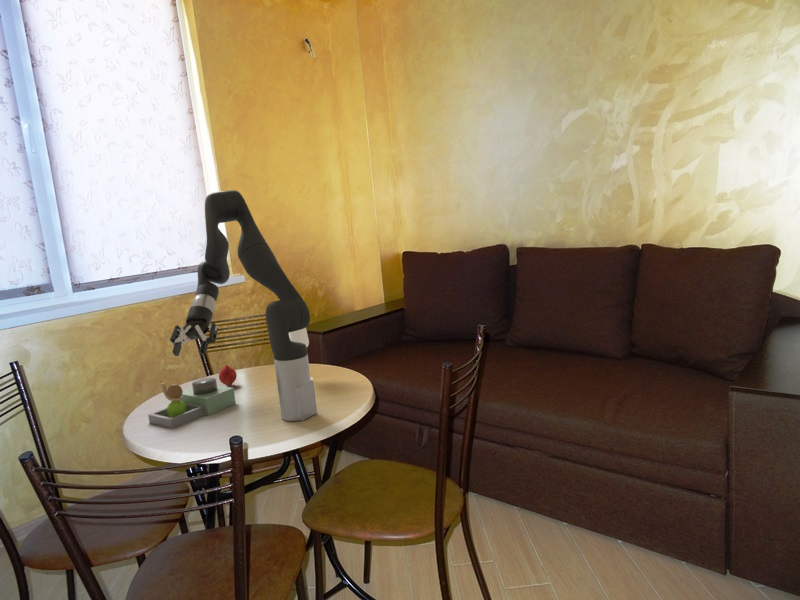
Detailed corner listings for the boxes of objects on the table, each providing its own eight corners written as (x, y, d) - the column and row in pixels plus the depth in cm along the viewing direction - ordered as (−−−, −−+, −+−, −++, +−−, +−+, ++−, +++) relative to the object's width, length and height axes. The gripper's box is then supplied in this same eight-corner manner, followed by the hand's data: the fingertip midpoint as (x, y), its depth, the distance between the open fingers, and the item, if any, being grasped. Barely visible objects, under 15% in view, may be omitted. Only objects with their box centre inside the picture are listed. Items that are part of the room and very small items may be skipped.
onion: (216, 388, 178) (213, 365, 177) (229, 382, 183) (226, 361, 182) (229, 389, 175) (225, 366, 174) (241, 384, 180) (238, 362, 179)
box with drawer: (235, 403, 161) (232, 378, 159) (175, 429, 143) (171, 401, 142) (206, 398, 168) (203, 374, 167) (146, 422, 151) (142, 395, 150)
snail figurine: (170, 415, 155) (164, 377, 153) (191, 414, 154) (185, 375, 152) (161, 422, 149) (155, 382, 148) (182, 421, 149) (176, 381, 147)
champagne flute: (298, 377, 183) (290, 310, 179) (316, 376, 182) (308, 310, 178) (290, 383, 176) (282, 314, 173) (309, 382, 175) (300, 313, 171)
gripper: (175, 306, 167) (160, 349, 157) (217, 303, 165) (204, 347, 156) (186, 318, 173) (173, 361, 163) (226, 316, 171) (215, 359, 162)
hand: (188, 354), depth 159 cm, fingers open, 8 cm apart
